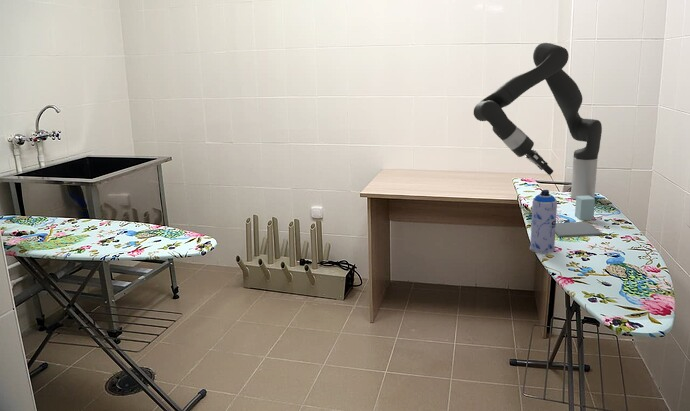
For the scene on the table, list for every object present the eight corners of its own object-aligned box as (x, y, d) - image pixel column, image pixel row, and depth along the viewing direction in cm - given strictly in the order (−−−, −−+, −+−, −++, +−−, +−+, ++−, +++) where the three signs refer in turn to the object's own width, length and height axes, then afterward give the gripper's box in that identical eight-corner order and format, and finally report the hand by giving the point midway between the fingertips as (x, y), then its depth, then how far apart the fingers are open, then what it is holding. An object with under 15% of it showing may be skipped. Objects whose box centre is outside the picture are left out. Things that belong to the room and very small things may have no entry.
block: (574, 216, 218) (576, 196, 216) (587, 215, 218) (589, 195, 216) (580, 220, 214) (581, 199, 211) (593, 219, 214) (595, 199, 211)
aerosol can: (551, 254, 182) (555, 194, 176) (526, 251, 186) (529, 192, 181) (557, 247, 188) (560, 188, 183) (533, 243, 193) (535, 186, 187)
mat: (546, 225, 210) (546, 223, 210) (587, 223, 210) (587, 221, 210) (559, 237, 197) (559, 235, 197) (602, 234, 197) (602, 233, 197)
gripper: (531, 137, 200) (562, 167, 203) (519, 130, 214) (548, 159, 217) (515, 152, 202) (546, 182, 205) (504, 145, 215) (533, 173, 218)
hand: (547, 170), depth 211 cm, fingers open, 8 cm apart
